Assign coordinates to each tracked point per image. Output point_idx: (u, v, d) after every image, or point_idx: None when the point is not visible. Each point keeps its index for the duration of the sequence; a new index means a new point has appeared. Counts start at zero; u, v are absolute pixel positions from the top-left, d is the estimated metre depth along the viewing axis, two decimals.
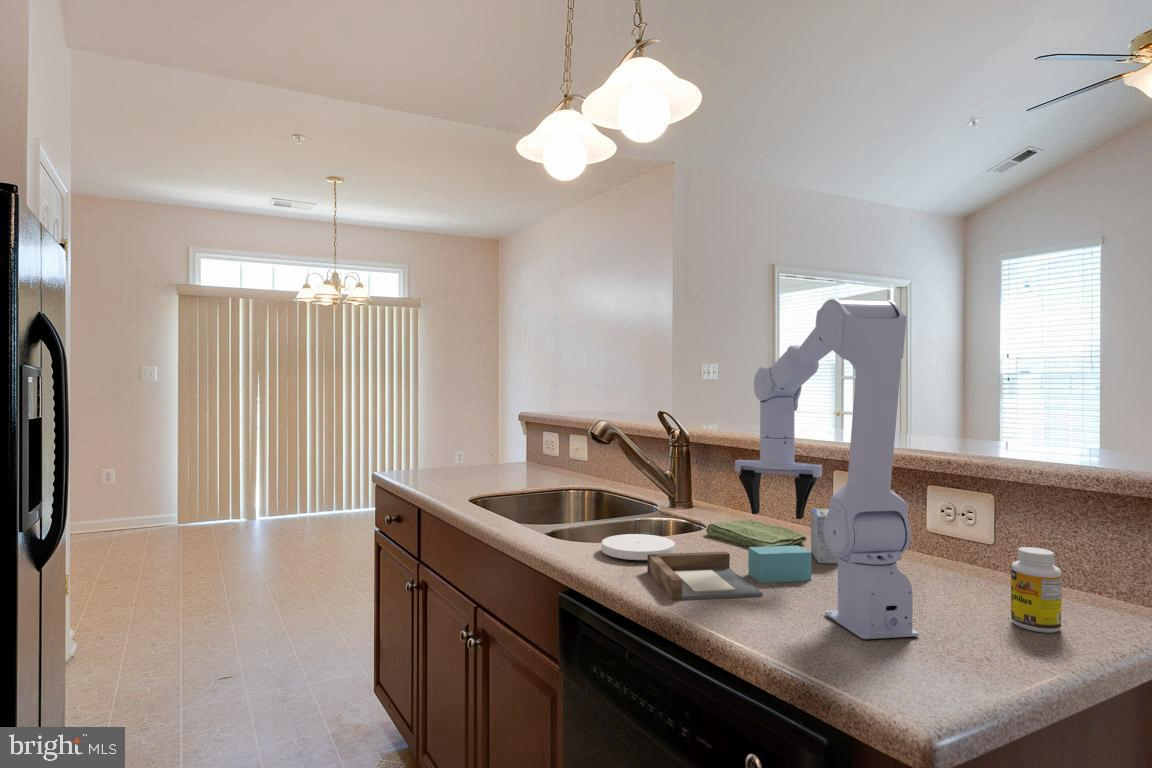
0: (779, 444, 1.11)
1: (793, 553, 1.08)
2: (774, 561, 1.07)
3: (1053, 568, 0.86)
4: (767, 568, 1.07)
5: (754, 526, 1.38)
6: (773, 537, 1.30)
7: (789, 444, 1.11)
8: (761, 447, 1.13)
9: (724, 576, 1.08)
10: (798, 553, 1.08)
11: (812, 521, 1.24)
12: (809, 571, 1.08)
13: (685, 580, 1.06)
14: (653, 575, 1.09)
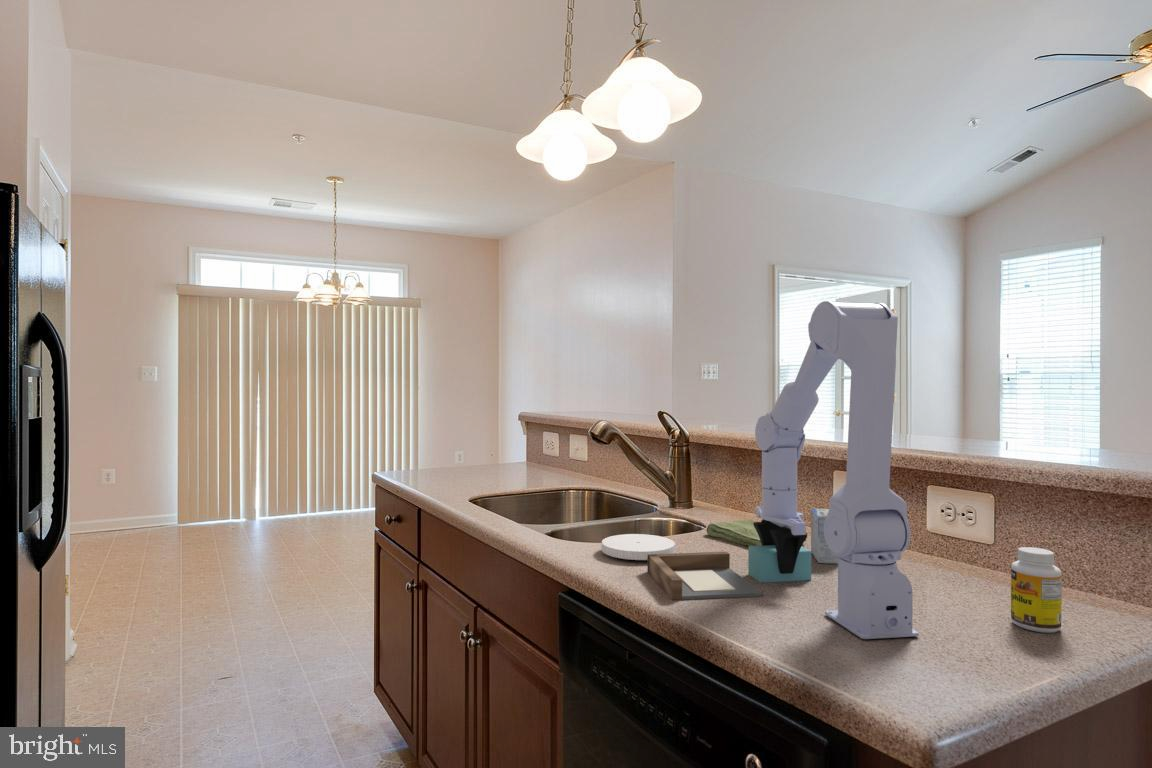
0: (767, 495, 1.09)
1: None
2: (774, 560, 1.07)
3: (1053, 568, 0.86)
4: (766, 567, 1.07)
5: None
6: None
7: (779, 496, 1.07)
8: None
9: (724, 576, 1.08)
10: None
11: (812, 521, 1.24)
12: (809, 570, 1.08)
13: (685, 580, 1.06)
14: (653, 575, 1.09)
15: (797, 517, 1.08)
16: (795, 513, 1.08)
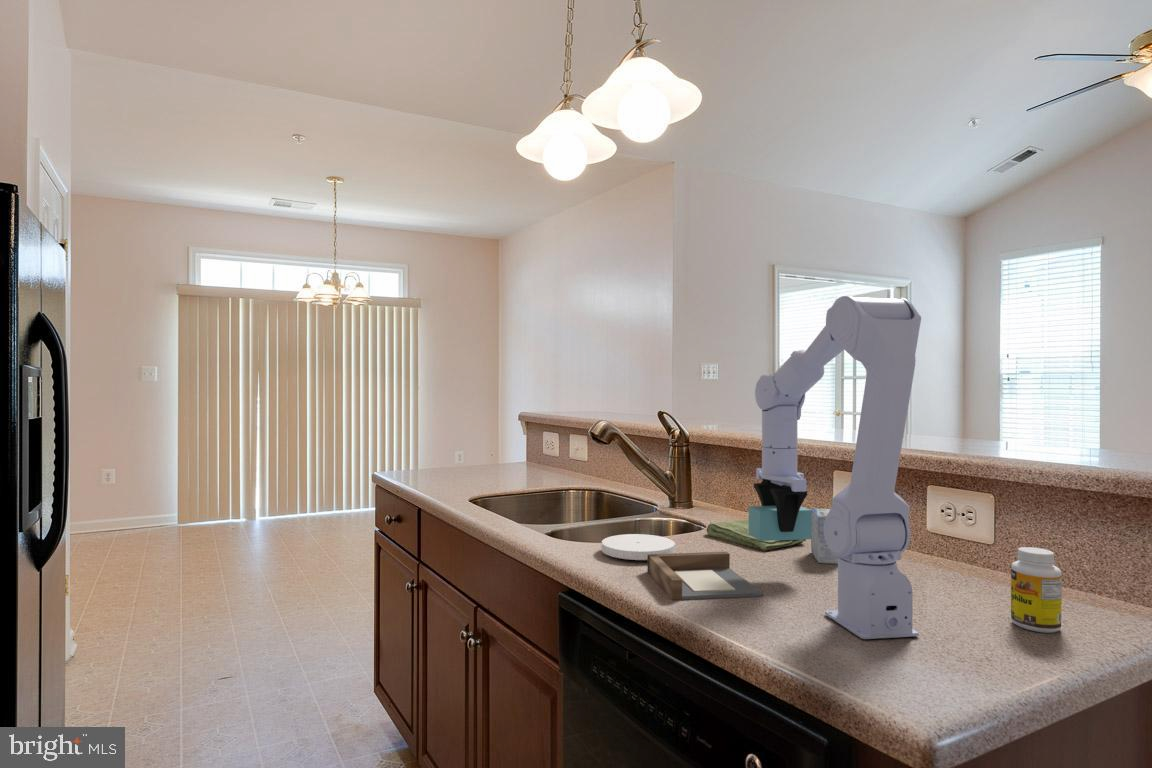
0: (768, 454, 1.09)
1: None
2: (774, 519, 1.07)
3: (1053, 568, 0.86)
4: (767, 525, 1.07)
5: None
6: None
7: (779, 455, 1.07)
8: None
9: (724, 576, 1.08)
10: None
11: (812, 521, 1.24)
12: (809, 529, 1.08)
13: (685, 580, 1.06)
14: (653, 575, 1.09)
15: (797, 476, 1.08)
16: (795, 472, 1.08)
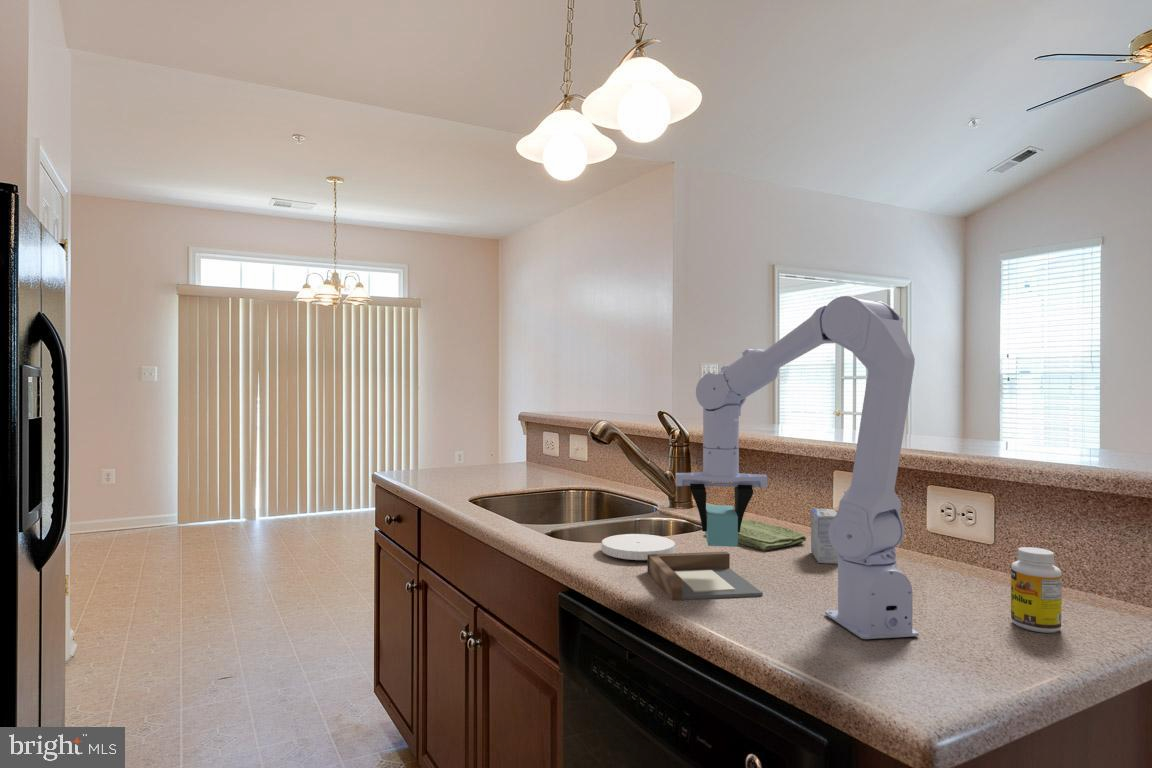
0: (729, 455, 1.04)
1: (733, 509, 1.08)
2: None
3: (1053, 568, 0.86)
4: None
5: (754, 526, 1.38)
6: (772, 537, 1.30)
7: (737, 455, 1.06)
8: (708, 459, 1.06)
9: (724, 576, 1.08)
10: None
11: (812, 521, 1.24)
12: None
13: (685, 580, 1.06)
14: (653, 575, 1.09)
15: None
16: None
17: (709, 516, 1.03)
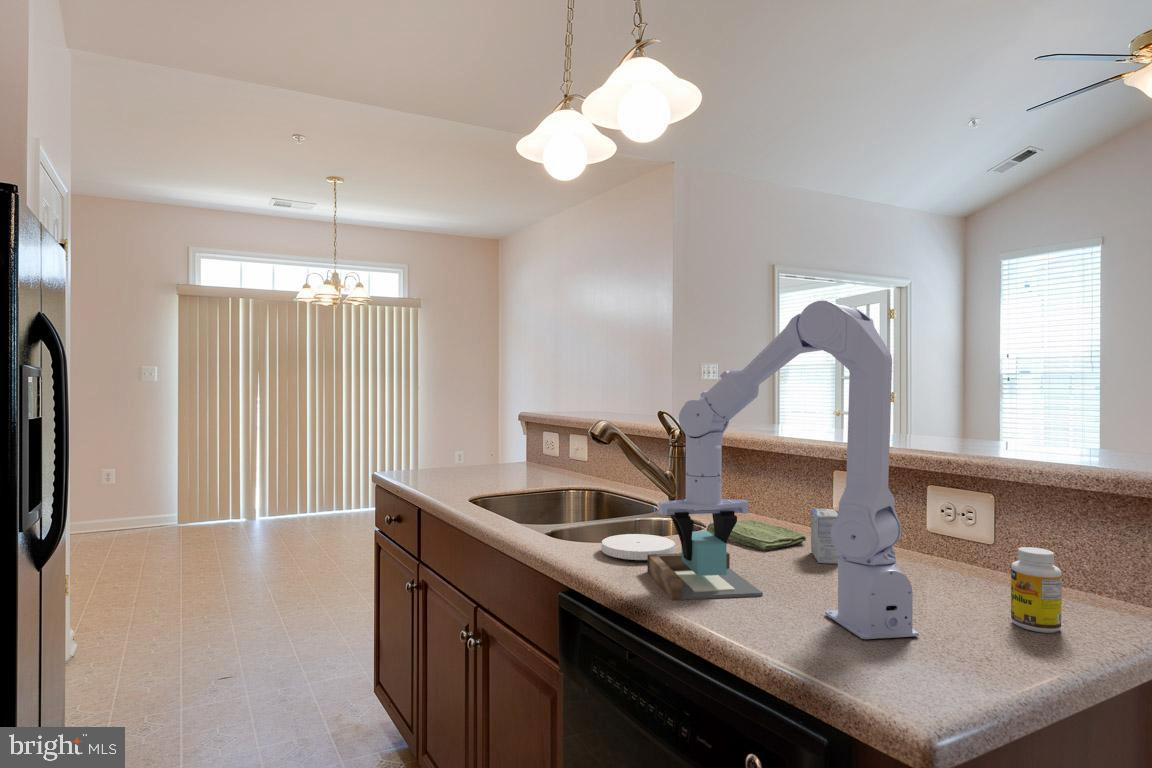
0: (715, 483, 1.04)
1: (713, 536, 1.08)
2: None
3: (1053, 568, 0.86)
4: None
5: (754, 526, 1.38)
6: (772, 537, 1.30)
7: (720, 481, 1.05)
8: (693, 487, 1.04)
9: (724, 576, 1.08)
10: None
11: (812, 521, 1.24)
12: None
13: (685, 580, 1.06)
14: (653, 575, 1.09)
15: None
16: None
17: (699, 546, 1.01)
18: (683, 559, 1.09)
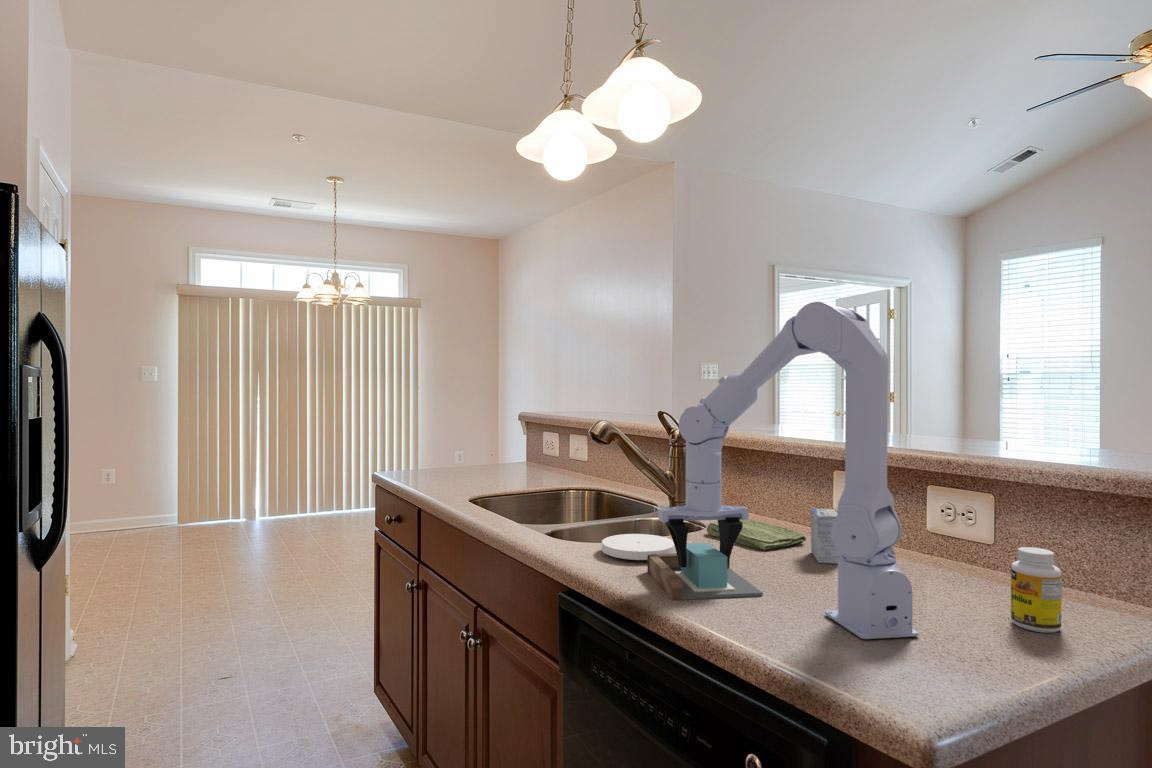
0: (715, 489, 1.04)
1: (713, 548, 1.08)
2: None
3: (1053, 568, 0.86)
4: None
5: (754, 526, 1.38)
6: (772, 537, 1.30)
7: (720, 488, 1.05)
8: (693, 493, 1.04)
9: None
10: (711, 546, 1.09)
11: (812, 521, 1.24)
12: None
13: (685, 580, 1.06)
14: (653, 575, 1.09)
15: None
16: None
17: (700, 558, 1.01)
18: (683, 571, 1.09)
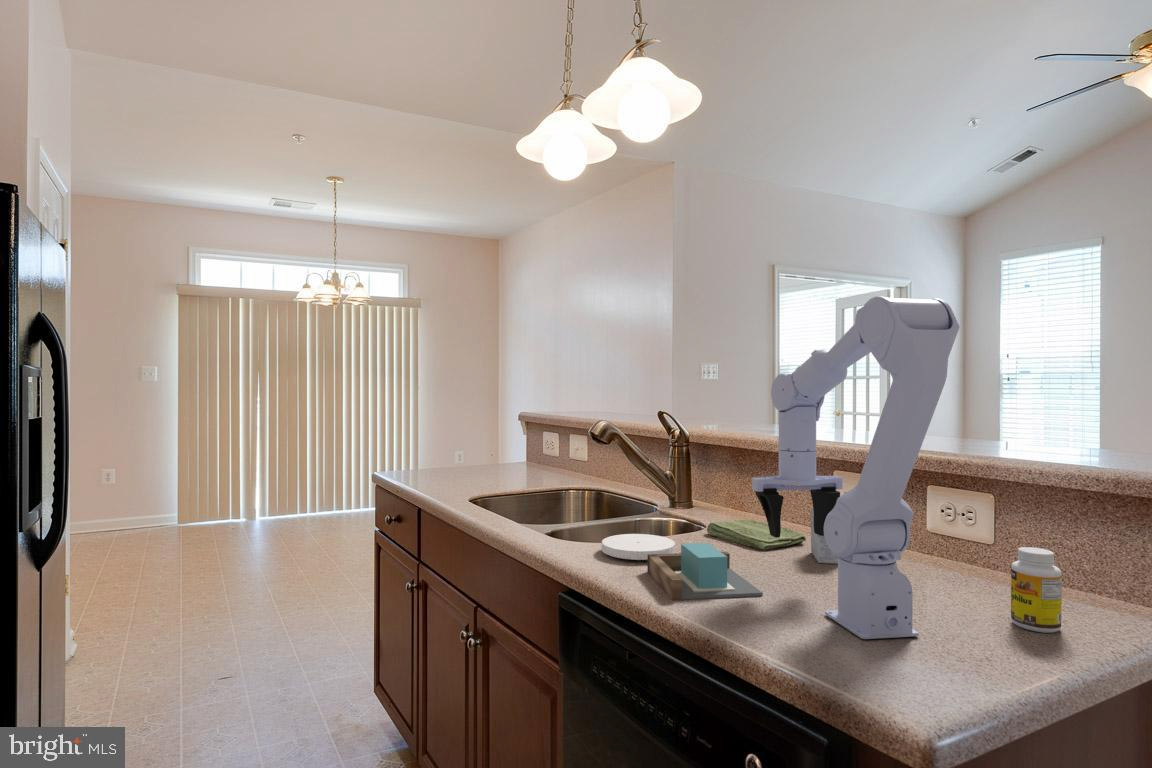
0: (811, 458, 1.02)
1: (713, 548, 1.08)
2: None
3: (1053, 568, 0.86)
4: None
5: (754, 526, 1.38)
6: (771, 536, 1.30)
7: None
8: (789, 462, 1.02)
9: None
10: (711, 546, 1.09)
11: (812, 521, 1.24)
12: None
13: (685, 580, 1.06)
14: (653, 575, 1.09)
15: None
16: None
17: (700, 558, 1.01)
18: (683, 571, 1.09)
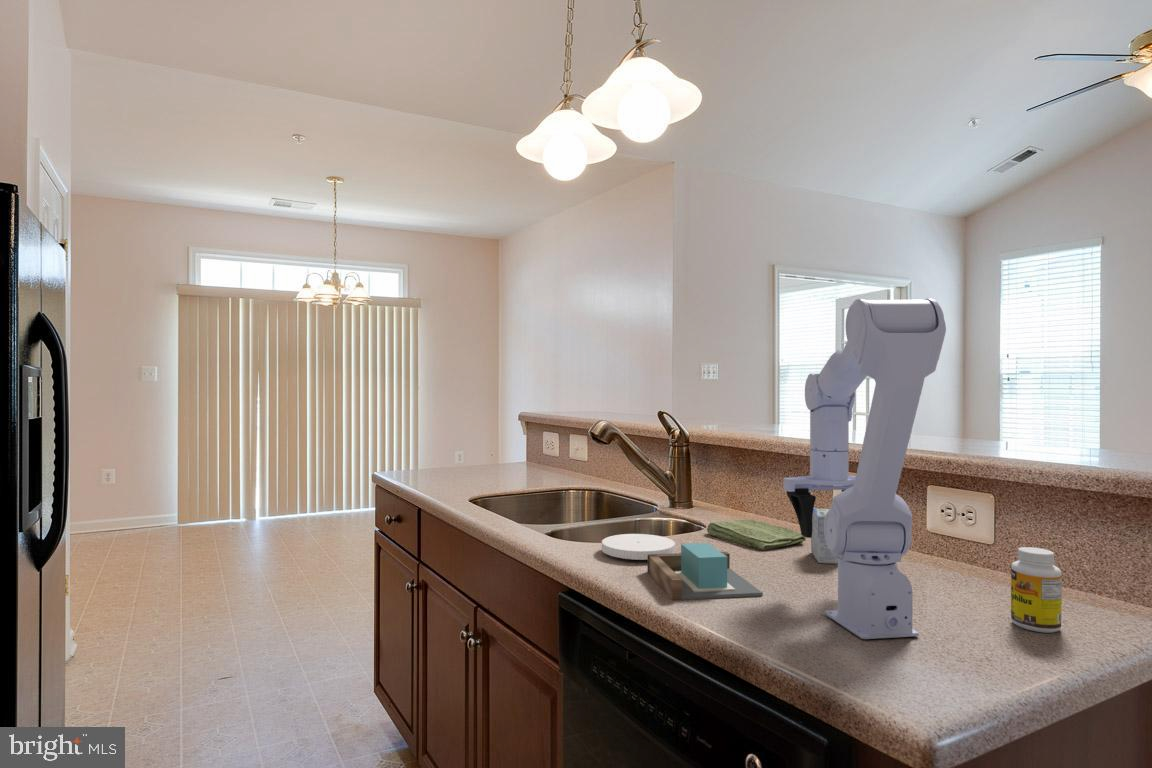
0: (844, 458, 1.01)
1: (713, 548, 1.08)
2: None
3: (1053, 568, 0.86)
4: None
5: (754, 525, 1.38)
6: (771, 536, 1.30)
7: (847, 457, 1.03)
8: (821, 462, 1.02)
9: None
10: (711, 546, 1.09)
11: (812, 521, 1.24)
12: None
13: (685, 580, 1.06)
14: (653, 575, 1.09)
15: None
16: None
17: (700, 558, 1.01)
18: (683, 571, 1.09)
